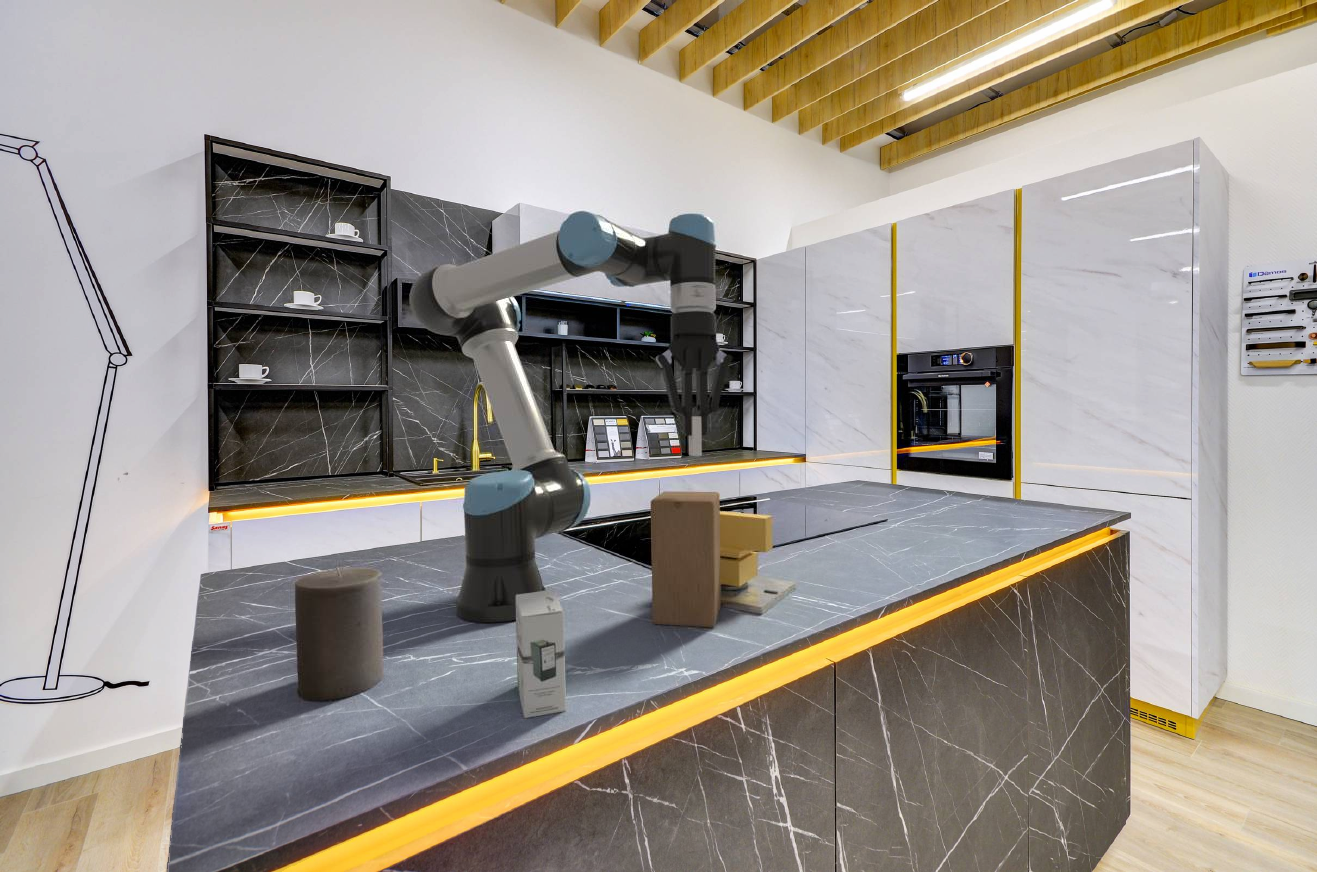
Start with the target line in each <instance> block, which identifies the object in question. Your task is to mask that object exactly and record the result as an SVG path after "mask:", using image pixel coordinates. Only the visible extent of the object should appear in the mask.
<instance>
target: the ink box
mask: <svg viewBox="0 0 1317 872" xmlns="http://www.w3.org/2000/svg"><path fill="white" fill-rule="evenodd" d="M515 623H516V624H515V626H516V627H515V628H516V630H515V632H516V633H515V634H516V669H517V671H516V672H517V675H516V676H517V677H516V678H517V683H516V684H517V685H516V686H517V689H518V695H519V701H520V705H521V709H522V711H521V712H522V714H523V718H524V719H528V718H533V717H541V716H545V715H550V714H556V713H562V712H565V711H566V710H567V697H566V696H567V691H566V688H567V687H566V664H565V663H566V662H565V661H566V659H565V657H566V656H565V625H564V624H565V622H564V609H563V607H562V604H561V602H560V600H559V598H558V595H557V593H556V591H555V589H546V591H540V592H533V593H526V594H518V595H516V620H515Z"/></svg>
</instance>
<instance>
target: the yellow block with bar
mask: <svg viewBox="0 0 1317 872" xmlns="http://www.w3.org/2000/svg"><path fill="white" fill-rule="evenodd" d="M771 550H773V515H767V514H757V513H755V514H754V513H743V512H737V511H736V512H734V511H725V510H724V511H723V510H722V511H721V510H720V556H726V557H733V558H738V559H736V560H734V559H727V558H720V583H721V584H726V585H732V586H737V587H740V586H742V585H743V584H745V583H746V582H748V581H750V580H751V579H753V578H755V577H756V576H759V574H758V572H759V570H758V564H759V562H758V561H759V559H758V552H760V553H768V552H769V551H771Z"/></svg>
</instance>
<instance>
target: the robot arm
mask: <svg viewBox="0 0 1317 872" xmlns="http://www.w3.org/2000/svg"><path fill="white" fill-rule="evenodd" d="M716 249H717V244H716V235H715V225H714V220H712V218H710V217H709V216H707V215H705V214H701V213H682V214H679V215H677V216H675V217H672V218H671V219H670V220H669V226H668V233H664V234H660V235H655V236H649V237H641V236H639V235H637V234H636V233H633V232H631V231H629V230H627V229H625V228H624V227H622V226H619V225H617V224H616V223H614V222H612V221H610V220H608V218H606V217H603V216H602V215H600V214H595V213H592V212H590V211H586V210H579V211H575V212H573V213H570V214H569V215H568V217H567V218H566V219H565V220H564V221H563V222H562V224H561V225H560V228H559V230H557V231H554V232H552V233H548V234H545V235H543V236H539V237H537V238H534V239H532V240H529V241H525V242H523V243H521V244H517V245H515V246H512V247H509V248H505V249H503V250H501V251H497V252H495V253H492V254H489V255H486V256H484V257H480V258H478V259H475V260H472V261H469V262H466V263H463V264H461V265H458V266H457V265H454V264H451V263H445V264H441V265H440V266H436V267H434V268H431V269H429V270H426V271H425V272H423V273H422V274H420V275H419V276H418V277H417V279H415V281H413V284H412V286H411V288H410V293H409V305H410V309H411V312H412V314H413V316H414V318H415V319H416V321H417V322H418V323H419V324H420V326H422V327H423V328H425V329H427V330H428V331H430V332H432V333H435V334H437V335H438V334H439V335H442V336H447V337H448V336H449V337H456V338H457V340H458V344H459V346H460V348H461V351H462V353H463V355H464V356H466V357H468V358H471V359H473V362H474V364H475V367H476V369H477V372H478V375H479V378H480V380H481V383H482V387H483V388H484V389H483V390H484V392H485V394H486V396H487V398H488V402H489V405H490V407H491V410H492V413H493V415H494V419H495V421H496V424H497V426H498V429H499V431H500V434H501V437H502V439H503V442H504V445H505V448H506V450H507V454H508V456H509V459H510V462H511V464H512V468H511V470H502V471H499V472H497V471H496V472H495V471H494V472H490V473H485V474H482V475H479V476H476V477H474V478H472V479H471V480H469V481H468V482H467V483H466V485H465V488H464V499H463V500H464V501H463V503H462V507H463V508H462V509H463V513H464V514H463V515H464V517H463V518H464V536H465V540H464V541H465V565H466V566H465V570H464V573H463V578H462V580H461V586H460V589H459V590H460V591H459V593H458V596H457V597H456V614H457V616H458V617H459V618H461V619H463V620H465V621H470V622H473V623H501V622H509V621H511V622H512V621H516V595H518V594H526V593H533V592H540V591H546V590H547V589H546V587H545V586H544V585H543V579H542V577H541V574H540V570H539V568H538V565H537V562H536V539H539V538H543V537H545V536H549V535H552V534H555V533H563V532H565V531H567V530H569V529H571V528H573V527H575V526H578V525H579V524H581V522H582V521H583V520H584V519H585V518H586V516H587V514H588V511H589V508H590V505H591V500H592V499H591V494H592V493H591V489H590V485H589V483H588V481H587V480H586V478H585V477H584V475H583V474H582V473H579V472H578V471H576V470H575V469H571V468H570V465H569V463H568V460H567V457H566V456H565V454H563V453H560V452H558V451H556V450H555V449H554V446H553V443H552V441H551V438H550V435H549V432H548V430H547V427H546V424H545V422H544V419H543V416H542V414H541V411H540V408H539V406H538V404H537V401H536V398H535V396H534V393H533V391H532V388H531V385H530V383H529V381H528V380H529V379H528V378H527V375H526V372H525V370H524V367H523V364H522V362H521V360H520V357H519V355H518V351H517V349H516V346H515V345H516V343H517V341H518V339H519V333H518V332H519V329H520V326H521V324H520V321H522V314H521V310H520V306H519V304H518V302H517V300H516V298H515V297H516V296H519V295H522V294H525V293H529V292H533V291H536V290H539V289H542V288H545V287H549V286H552V285H555V284H558V283H561V282H564V281H569V280H571V279H574V278H579V277H582V276H586V275H590V274H593V273H595V272H597V273H598V272H601V273H603V274H604V276H605V278H606V279H607V280H609V282H610V284H611V285H612V286H614V287H616V288H617V287H619V288H620V287H622V288H624V287H629V288H635V286H636V287H638V286H641V285H643V286H644V285H648V284H654V283H659V282H660V283H661V282H668V281H670V282H669V284H670V285H669V286H670V288H669V290H670V292H669V293H670V296H669V297H670V298H669V299H670V311H671V312H672V313H673V314H672V315H671V316H670V342H669V344H668V347H667V350H666V351H665V352H663V353H661V354H659V355H657V356H656V357H655V360H654V361H655V362H656V364H657V366H658V367H659V369H660V370H661V373H662V377H663V381H664V385H665V390H666V394H667V397H668V402H669V405H670V409H671V411H672V413H676V414H678V415H680V416H681V418H682V433H683V435H684V436H686V437H687V436H688V456H691V457H702V456H703V452H702V451H703V450H702V446H703V445H702V442H703V441H702V439H703V438H702V436H707V434H708V416H709V415H710V414H712V413H715V412H718V410H719V405H720V401H721V396H722V393H723V387H724V383H725V378H726V374H727V370H728V367H729V366H730V364H731V363H732V361H733V356H732V355H731V354H726V353H725V352H723V351H722V350H720V345H719V343H718V341H717V315H716V313H714V312H715V310H716V309H717V302H716V299H717V298H716V297H717V295H716V293H717V292H716V291H717V290H716V288H717V287H716ZM672 359H673V360H674V361H675V362H676V364H677V365H678V367H679V369H680V376H681V398H680V395H679V393H678V388H677V383H676V379H675V376H674V372H673V369H672V368H673V367H672V365H671V364H672V361H673V360H672ZM714 359H715V364H716V366H715V370H714V375H713V377H712V383H711V387H710V393H709V395H708V374H709V368H708V367H710V365H711V363H712V362H713V360H714ZM694 370H695V371H694ZM694 372H695V376H696V377H695V381H696V385H695V386H696V389H695V391H696V416H693V373H694ZM708 396H709V397H708ZM680 399H681V400H680Z"/></svg>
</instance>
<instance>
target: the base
mask: <svg viewBox="0 0 1317 872" xmlns="http://www.w3.org/2000/svg"><path fill="white" fill-rule="evenodd" d="M720 558H727V559H734V560H736V559H738V558H733V557H726V556H720ZM796 589H797V582H795V581H791V580H790V581H789V580H785V579H784V580H783V579H778V578H772V577H765V576H759V575H758V576H756V577H755V578H753V579H751V580H750V581H748V582H746V583H745V584H743V585H742V586H740V587H737V586H732V585H726V584H721V606H720V607H723V608H728V609H732V610H738V611H743V612H747V613H749V612H750V613H752V614H759V615H763V614H765V613H766V612H767V611H769V610H770V609H771V608H772V607H774V606H775V605H777V604H778V603H779V602H780V601H782V600H783V599H784V598H786V597H787V596H788V595H790V594H791V593H792V592H793V591H795V590H796Z"/></svg>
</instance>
